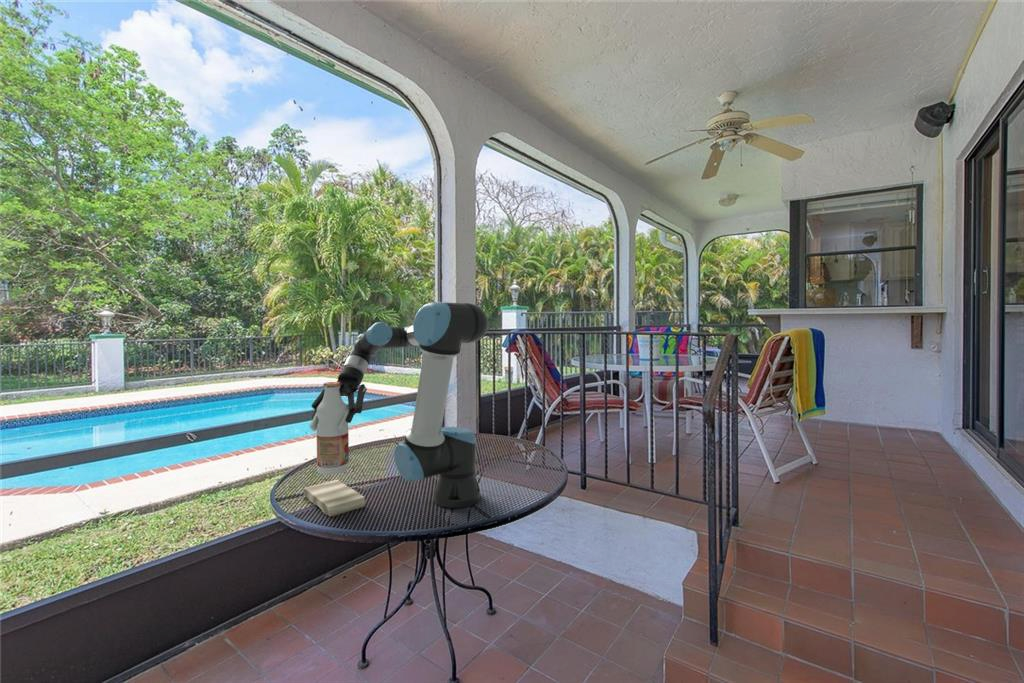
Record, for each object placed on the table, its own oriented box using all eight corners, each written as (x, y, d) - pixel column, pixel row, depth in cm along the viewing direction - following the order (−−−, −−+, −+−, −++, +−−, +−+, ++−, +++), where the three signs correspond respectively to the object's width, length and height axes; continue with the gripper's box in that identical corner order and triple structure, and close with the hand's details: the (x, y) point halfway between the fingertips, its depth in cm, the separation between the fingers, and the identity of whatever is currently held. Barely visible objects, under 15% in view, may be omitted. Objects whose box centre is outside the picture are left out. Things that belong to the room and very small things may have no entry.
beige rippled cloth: (364, 506, 139) (364, 496, 139) (329, 517, 131) (329, 507, 131) (337, 488, 153) (337, 479, 153) (304, 497, 146) (303, 488, 145)
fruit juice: (312, 469, 142) (311, 382, 140) (341, 463, 149) (340, 379, 147) (323, 477, 135) (322, 386, 134) (353, 470, 142) (353, 383, 140)
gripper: (386, 380, 153) (363, 438, 139) (328, 377, 157) (300, 433, 143) (379, 366, 148) (354, 425, 133) (319, 364, 152) (289, 421, 137)
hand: (326, 429), depth 138 cm, fingers closed on fruit juice, 9 cm apart
